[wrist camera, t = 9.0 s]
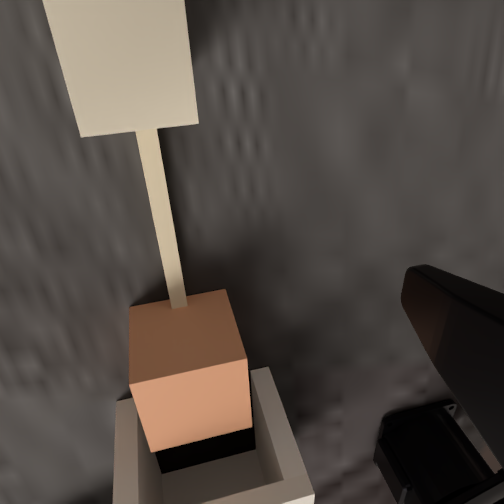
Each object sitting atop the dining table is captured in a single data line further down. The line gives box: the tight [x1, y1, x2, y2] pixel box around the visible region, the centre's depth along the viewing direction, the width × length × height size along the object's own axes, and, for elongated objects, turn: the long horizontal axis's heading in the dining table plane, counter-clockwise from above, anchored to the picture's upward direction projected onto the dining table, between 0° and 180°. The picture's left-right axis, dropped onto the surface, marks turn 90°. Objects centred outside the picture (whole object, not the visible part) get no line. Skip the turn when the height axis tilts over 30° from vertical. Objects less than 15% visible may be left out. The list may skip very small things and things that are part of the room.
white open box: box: [113, 366, 315, 504], centre depth 25 cm, size 9×10×8 cm
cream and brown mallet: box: [43, 0, 252, 453], centre depth 17 cm, size 5×18×6 cm, turn 3°
